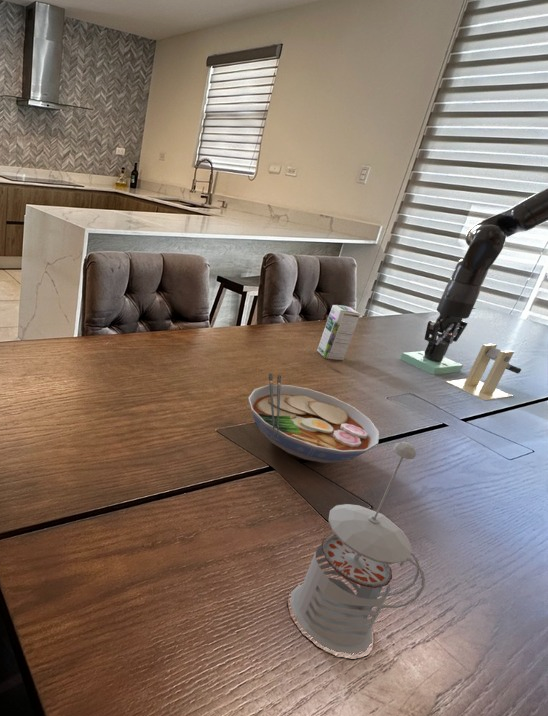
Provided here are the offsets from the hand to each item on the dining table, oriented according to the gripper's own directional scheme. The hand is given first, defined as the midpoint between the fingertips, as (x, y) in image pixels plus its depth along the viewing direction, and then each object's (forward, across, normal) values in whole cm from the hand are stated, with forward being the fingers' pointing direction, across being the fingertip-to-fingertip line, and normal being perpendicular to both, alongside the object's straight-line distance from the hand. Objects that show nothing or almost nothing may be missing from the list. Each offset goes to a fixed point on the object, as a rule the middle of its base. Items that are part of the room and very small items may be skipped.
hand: (434, 354), depth 134 cm
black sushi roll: (+1, 0, 0) cm, 1 cm away
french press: (+4, -94, -53) cm, 108 cm away
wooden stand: (+4, -1, -14) cm, 15 cm away
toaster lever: (-4, +3, -14) cm, 15 cm away
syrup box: (+5, -26, +12) cm, 29 cm away
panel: (+4, 0, 0) cm, 4 cm away
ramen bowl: (+5, -71, -23) cm, 75 cm away
